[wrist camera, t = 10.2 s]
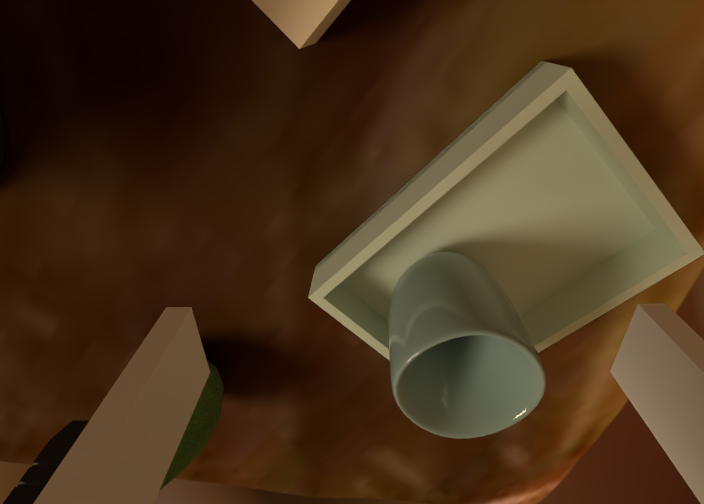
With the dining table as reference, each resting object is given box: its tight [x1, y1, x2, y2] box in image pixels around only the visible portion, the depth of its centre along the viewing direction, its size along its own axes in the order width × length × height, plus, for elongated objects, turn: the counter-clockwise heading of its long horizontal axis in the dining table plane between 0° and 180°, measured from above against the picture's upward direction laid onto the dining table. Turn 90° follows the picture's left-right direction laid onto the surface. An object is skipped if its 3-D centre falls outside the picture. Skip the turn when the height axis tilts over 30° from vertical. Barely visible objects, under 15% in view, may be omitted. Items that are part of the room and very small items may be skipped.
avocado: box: [159, 361, 224, 491], centre depth 31 cm, size 8×8×12 cm
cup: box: [388, 251, 546, 438], centre depth 25 cm, size 8×8×10 cm
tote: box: [308, 61, 704, 360], centre depth 27 cm, size 14×19×4 cm
